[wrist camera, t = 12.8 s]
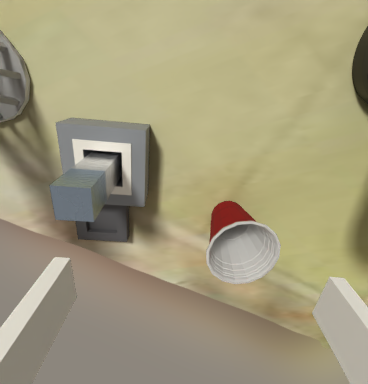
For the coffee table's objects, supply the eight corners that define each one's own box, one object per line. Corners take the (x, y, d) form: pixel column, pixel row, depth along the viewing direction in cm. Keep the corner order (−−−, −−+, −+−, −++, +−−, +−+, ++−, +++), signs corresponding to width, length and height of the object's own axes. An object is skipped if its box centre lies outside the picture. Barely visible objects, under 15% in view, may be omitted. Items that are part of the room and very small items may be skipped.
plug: (97, 147, 36) (49, 185, 22) (123, 149, 36) (90, 188, 23) (99, 170, 38) (55, 219, 24) (123, 172, 38) (93, 221, 24)
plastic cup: (268, 204, 42) (299, 245, 32) (233, 244, 46) (250, 293, 35) (220, 176, 40) (236, 211, 29) (188, 221, 44) (191, 267, 33)
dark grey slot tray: (77, 190, 40) (72, 195, 38) (128, 194, 41) (126, 199, 39) (82, 232, 44) (78, 239, 42) (129, 235, 45) (126, 241, 43)
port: (71, 117, 35) (54, 123, 30) (149, 124, 36) (145, 130, 31) (79, 188, 40) (66, 202, 35) (148, 193, 41) (144, 207, 36)
